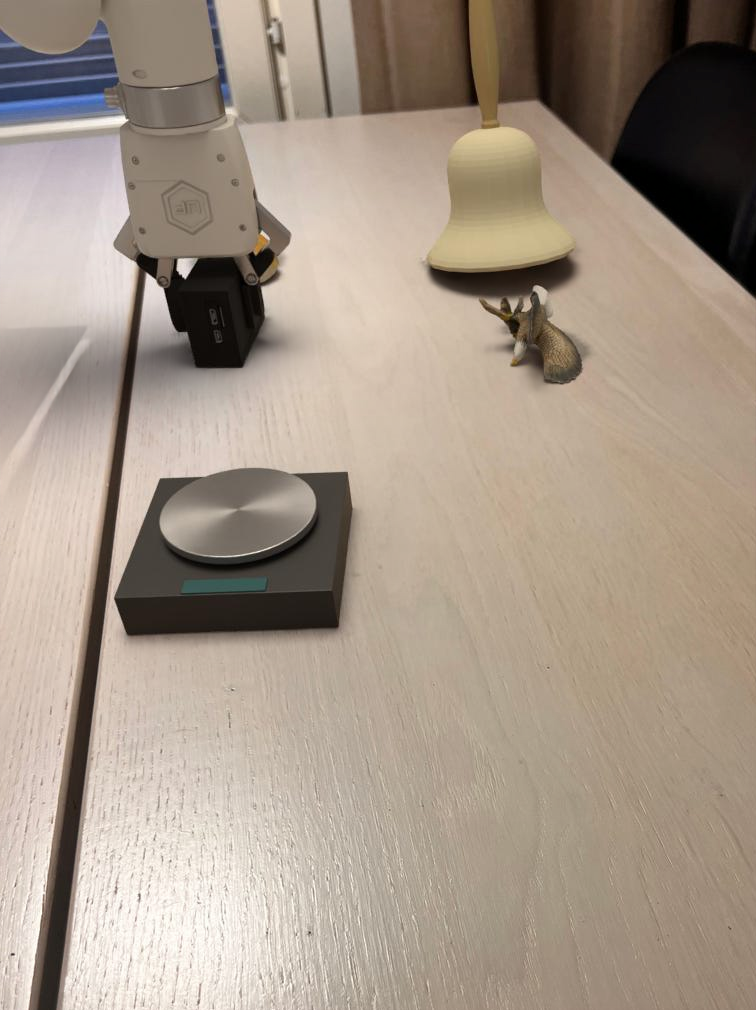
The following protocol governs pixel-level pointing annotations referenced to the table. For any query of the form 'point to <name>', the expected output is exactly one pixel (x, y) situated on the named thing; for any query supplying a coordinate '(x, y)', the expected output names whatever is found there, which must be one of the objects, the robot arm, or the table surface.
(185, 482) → the scale
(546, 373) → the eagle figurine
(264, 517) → the scale pan
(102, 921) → the table surface
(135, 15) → the robot arm
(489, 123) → the handbell
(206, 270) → the digital camera
